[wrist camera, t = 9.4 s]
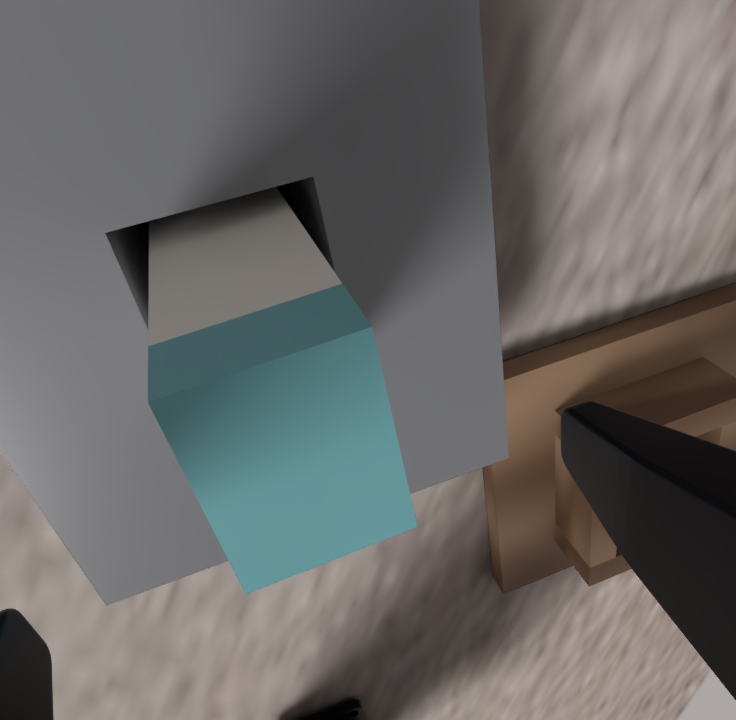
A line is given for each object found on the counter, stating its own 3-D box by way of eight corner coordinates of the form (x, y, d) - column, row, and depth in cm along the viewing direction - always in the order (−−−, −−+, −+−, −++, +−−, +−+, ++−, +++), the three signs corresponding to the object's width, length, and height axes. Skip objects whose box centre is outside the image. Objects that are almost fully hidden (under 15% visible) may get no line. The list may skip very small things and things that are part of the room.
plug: (298, 293, 18) (417, 526, 10) (202, 324, 18) (245, 594, 10) (259, 162, 16) (371, 326, 8) (149, 194, 16) (147, 402, 8)
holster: (708, 490, 30) (767, 541, 28) (493, 577, 29) (531, 641, 26) (749, 278, 24) (831, 316, 21) (473, 372, 22) (521, 427, 19)
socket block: (448, 380, 22) (508, 457, 18) (114, 493, 20) (106, 605, 16) (386, -97, 14) (470, -132, 10) (-164, 13, 12) (-299, 18, 9)
